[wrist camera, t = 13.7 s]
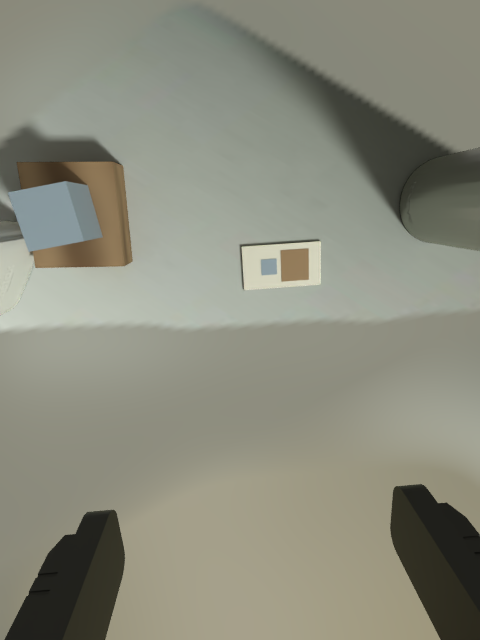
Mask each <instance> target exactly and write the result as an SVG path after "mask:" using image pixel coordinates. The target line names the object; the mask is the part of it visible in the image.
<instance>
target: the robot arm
mask: <svg viewBox="0 0 480 640" xmlns="http://www.w3.org/2000/svg"><path fill="white" fill-rule="evenodd" d="M400 214H401V218H402V222H403V224H404V226H405V228H406V229H407V230H408V232H409V233H410V234H411V235H412V236H414V237H415V238H417V239H419V240H421V241H424V242H428V243H434V244H440V245H446V246H451V247H457V248H464V249H470V250H476V251H480V147H479V148H475V149H472V150H467V151H462V152H458V153H454V154H450V155H446V156H442V157H438V158H435V159H432V160H430V161H428V162H426V163H424V164H423V165H421V166H420V167H419V168H418V169H416V170H415V171H414V173H413V174H412V175H411V176H410V177H409V179H408V181H407V182H406V184H405V186H404V189H403V191H402V194H401V200H400ZM390 529H391V537H392V541H393V545H394V547H395V550H396V552H397V554H398V556H399V558H400V560H401V562H402V564H403V566H404V568H405V570H406V572H407V574H408V576H409V578H410V580H411V582H412V584H413V586H414V588H415V590H416V592H417V594H418V596H419V598H420V600H421V602H422V604H423V606H424V608H425V610H426V611H427V614H428V615H429V618H430V620H431V621H432V623H433V625H434V627H435V629H436V631H437V633H438V635H439V637H440V639H441V640H480V535H479V533H478V532H477V531H476V530H475V528H474V527H473V526H472V524H471V523H470V522H469V521H468V519H467V518H466V517H465V516H464V515H462V514H461V513H460V512H458V511H457V510H456V509H454V508H453V507H452V506H450V505H449V504H448V503H437V501H436V500H435V499H434V497H433V496H432V495H431V493H430V492H429V491H428V489H427V488H426V487H425V486H424V485H422V484H419V485H407V486H396V487H395V488H394V490H393V501H392V513H391V527H390ZM124 561H125V554H124V546H123V542H122V537H121V532H120V527H119V522H118V518H117V513H116V511H115V510H106V511H94V512H87V513H86V514H85V515H84V517H83V519H82V521H81V523H80V525H79V527H78V530H77V532H76V534H73V535H65V536H64V537H63V538H62V539H61V540H60V541H59V542H58V543H57V544H56V546H55V547H54V548H53V549H52V550H51V551H50V552H49V553H48V555H47V557H46V559H45V561H44V563H43V565H42V567H41V569H40V571H39V573H38V577H37V578H36V579H35V581H34V583H33V585H32V587H31V589H30V591H29V595H28V596H27V597H26V598H25V600H24V603H23V604H22V607H21V608H20V610H19V612H18V614H17V616H16V618H15V620H14V622H13V624H12V626H11V628H10V630H9V632H8V634H7V636H6V638H5V640H105V638H106V634H107V631H108V627H109V623H110V620H111V616H112V612H113V609H114V605H115V602H116V598H117V594H118V591H119V587H120V583H121V580H122V575H123V570H124Z"/></svg>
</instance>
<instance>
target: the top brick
mask: <svg viewBox="0 0 480 640" xmlns="http://www.w3.org/2000/svg"><path fill="white" fill-rule="evenodd" d="M8 195H9V198H10V201H11V204H12V206H13V209H14V212H15V215H16V218H17V221H18V223H19V226H20V229H21V232H22V235H23V237H24V240H25V243H26V246H27V249H28V251H29V252H30V251H36V250H41V249H46V248H51V247H56V246H62V245H67V244H72V243H77V242H82V241H87V240H92V239H97V238H102V237H103V236H102V232H101V229H100V226H99V222H98V219H97V215H96V212H95V208H94V205H93V202H92V198H91V195H90V191H89V188H88V185H83V184H78V183H73V182H67V181H64V182H59V183H54V184H49V185H43V186H38V187H33V188H28V189H23V190H18V191H13V192H8Z"/></svg>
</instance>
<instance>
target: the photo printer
mask: <svg viewBox="0 0 480 640" xmlns="http://www.w3.org/2000/svg"><path fill="white" fill-rule="evenodd" d="M33 263H34V256H33V251H30V252H29V251H28V249H27V246H26V243H25V240H24V237H23V235H22V232H21V229H20V226H19V223H18V222H10V221H0V315H2V314H4V313H6V312H8V311H10V310H12V309H13V308H14V307H15V306H16V305H17V303H18V302H19V300H20V298H21V295H22V293H23V291H24V288H25V286H26V283H27V280H28V278H29V275H30V272H31V269H32V266H33Z"/></svg>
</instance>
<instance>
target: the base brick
mask: <svg viewBox="0 0 480 640" xmlns="http://www.w3.org/2000/svg"><path fill="white" fill-rule="evenodd" d="M17 167H18V173H19V178H20V184H21V189H22V190H23V189H28V188H33V187H38V186H43V185H49V184H54V183H59V182H64V181H67V182H73V183H78V184H83V185H88V188H89V191H90V195H91V198H92V202H93V205H94V208H95V212H96V215H97V219H98V222H99V226H100V229H101V232H102V236H103V237H102V238H97V239H92V240H87V241H82V242H77V243H72V244H67V245H62V246H56V247H51V248H46V249H41V250H36V251H33V256H34V261H35V267H36V268H53V267H107V266H125V265H127V264H129V263H131V262H132V251H131V241H130V231H129V221H128V211H127V201H126V191H125V181H124V171H123V166H122V165H119V164H117V163H115V162H17Z"/></svg>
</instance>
